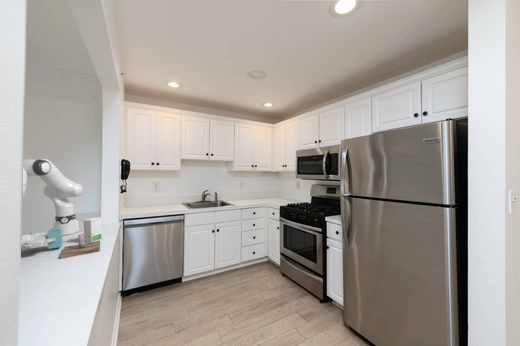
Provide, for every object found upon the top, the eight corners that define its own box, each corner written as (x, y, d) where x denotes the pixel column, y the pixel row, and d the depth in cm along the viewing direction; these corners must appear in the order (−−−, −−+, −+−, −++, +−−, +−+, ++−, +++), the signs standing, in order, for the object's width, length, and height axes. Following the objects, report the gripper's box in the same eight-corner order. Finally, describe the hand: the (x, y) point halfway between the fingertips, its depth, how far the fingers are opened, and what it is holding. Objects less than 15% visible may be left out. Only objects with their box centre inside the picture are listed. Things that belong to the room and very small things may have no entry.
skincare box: (91, 243, 150) (90, 220, 149) (83, 242, 151) (82, 220, 150) (102, 239, 158) (101, 217, 157) (94, 238, 159) (93, 217, 159)
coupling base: (64, 249, 140) (64, 234, 140) (100, 242, 150) (99, 228, 150) (60, 258, 125) (59, 242, 125) (99, 251, 136) (98, 235, 135)
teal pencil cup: (50, 245, 141) (49, 230, 141) (62, 243, 145) (61, 228, 144) (48, 248, 137) (47, 232, 136) (61, 246, 140) (60, 230, 139)
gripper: (20, 241, 124) (53, 236, 132) (30, 232, 141) (59, 228, 149) (21, 253, 125) (54, 247, 133) (30, 242, 141) (59, 238, 149)
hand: (57, 237), depth 141 cm, fingers closed on teal pencil cup, 6 cm apart
